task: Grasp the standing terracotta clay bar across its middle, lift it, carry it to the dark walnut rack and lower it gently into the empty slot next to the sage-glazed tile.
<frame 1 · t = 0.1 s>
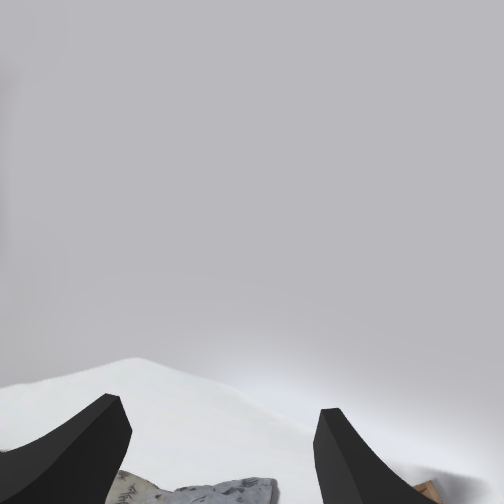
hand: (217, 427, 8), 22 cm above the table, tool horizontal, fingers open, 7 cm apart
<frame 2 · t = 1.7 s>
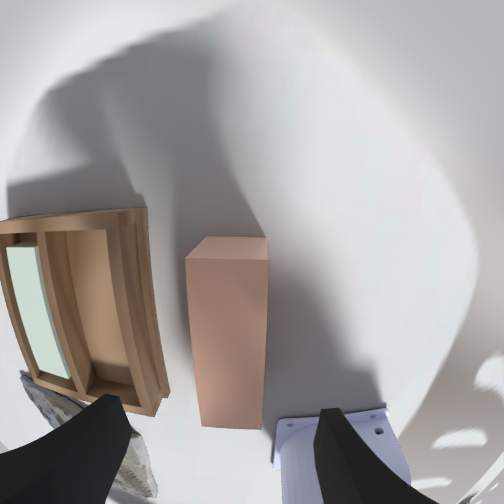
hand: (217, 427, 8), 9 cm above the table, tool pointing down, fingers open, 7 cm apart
glazed tile: (49, 306, 17), point 1 cm above the table, touching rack
fossil rock: (96, 443, 23), on the table
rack: (80, 306, 17), on the table
clay bar: (236, 315, 17), on the table
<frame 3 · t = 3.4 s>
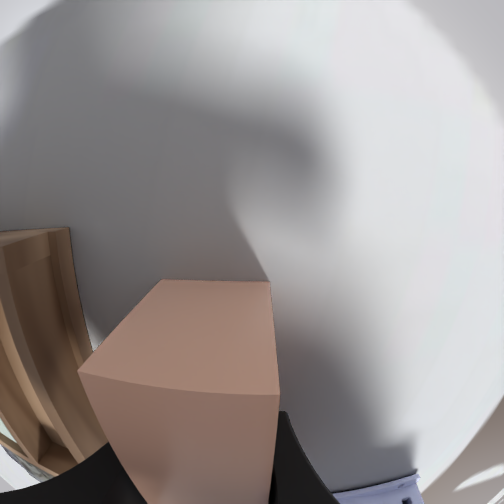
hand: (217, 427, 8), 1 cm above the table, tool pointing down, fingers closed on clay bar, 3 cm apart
fossil rock: (71, 487, 15), on the table
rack: (15, 358, 10), on the table
clay bar: (221, 400, 10), on the table, touching gripper
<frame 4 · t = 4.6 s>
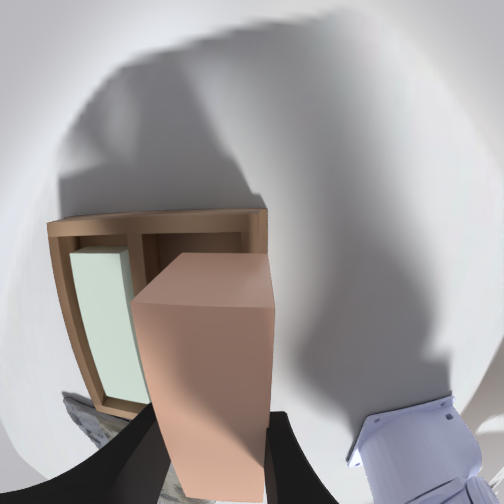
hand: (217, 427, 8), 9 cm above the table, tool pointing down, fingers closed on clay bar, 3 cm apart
glazed tile: (122, 322, 16), point 1 cm above the table, touching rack
fossil rock: (150, 462, 22), on the table
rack: (165, 320, 17), on the table
clay bar: (227, 359, 12), point 5 cm above the table, touching gripper
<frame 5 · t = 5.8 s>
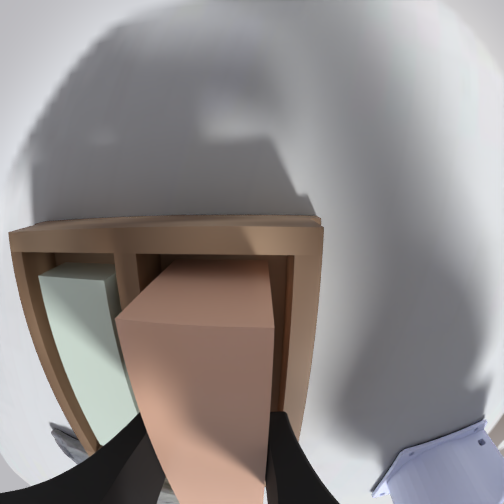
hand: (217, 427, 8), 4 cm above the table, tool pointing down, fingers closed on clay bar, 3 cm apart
glazed tile: (114, 362, 12), point 1 cm above the table, touching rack
fossil rock: (152, 494, 18), on the table
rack: (171, 360, 12), on the table
clay bar: (225, 370, 11), point 1 cm above the table, touching gripper, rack
when the fingers open (4 cm above the table, at t = 6.3 s): clay bar stays where it is, resting on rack.
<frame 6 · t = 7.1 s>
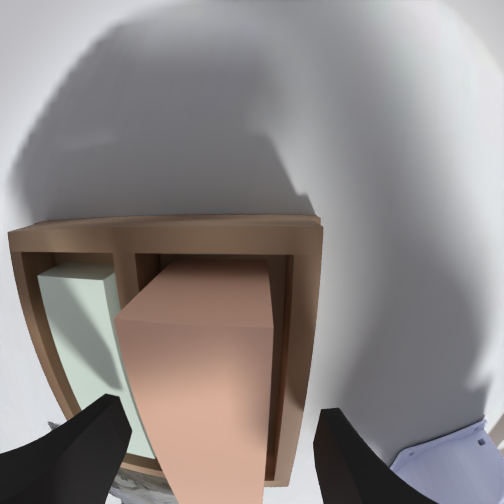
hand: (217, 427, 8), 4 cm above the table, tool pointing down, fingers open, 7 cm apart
glazed tile: (114, 362, 12), point 1 cm above the table, touching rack
fossil rock: (151, 494, 18), on the table
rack: (170, 360, 12), on the table
clay bar: (224, 370, 11), point 1 cm above the table, touching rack
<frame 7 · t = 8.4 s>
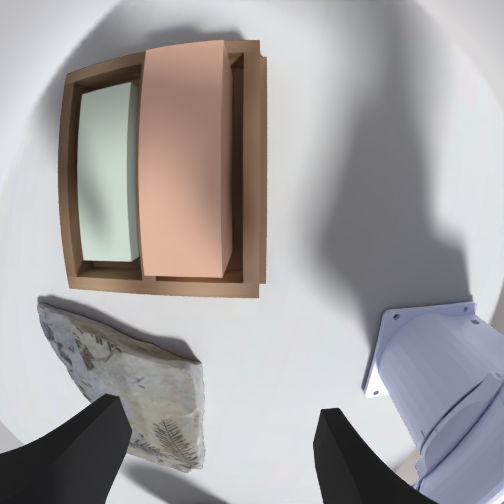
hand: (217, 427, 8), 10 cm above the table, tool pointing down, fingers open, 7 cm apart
glazed tile: (116, 172, 15), point 1 cm above the table, touching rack
fossil rock: (128, 396, 21), on the table
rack: (161, 169, 16), on the table
clay bar: (202, 161, 15), point 1 cm above the table, touching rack
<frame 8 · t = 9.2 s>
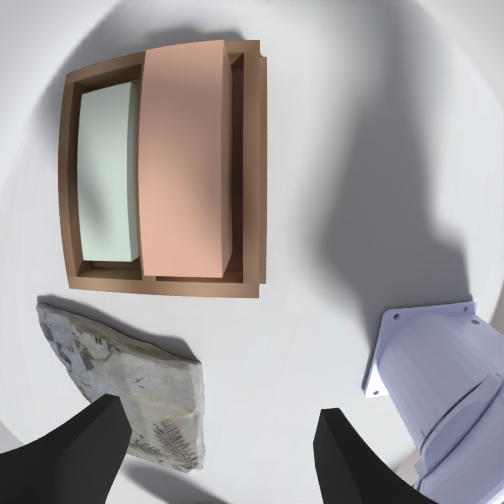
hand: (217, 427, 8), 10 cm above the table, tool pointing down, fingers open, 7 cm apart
glazed tile: (116, 172, 15), point 1 cm above the table, touching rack
fossil rock: (128, 396, 21), on the table
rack: (161, 169, 16), on the table
clay bar: (202, 161, 15), point 1 cm above the table, touching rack
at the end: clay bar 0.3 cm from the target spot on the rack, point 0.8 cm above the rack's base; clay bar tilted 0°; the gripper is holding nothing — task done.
